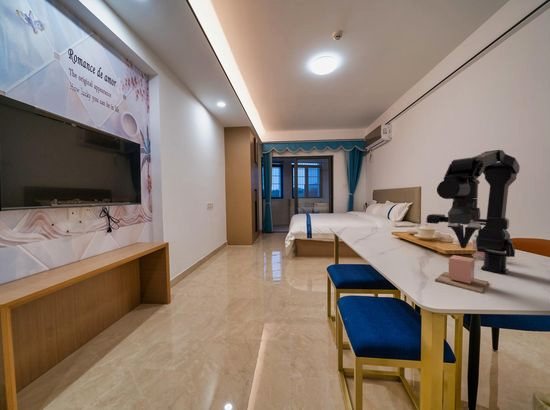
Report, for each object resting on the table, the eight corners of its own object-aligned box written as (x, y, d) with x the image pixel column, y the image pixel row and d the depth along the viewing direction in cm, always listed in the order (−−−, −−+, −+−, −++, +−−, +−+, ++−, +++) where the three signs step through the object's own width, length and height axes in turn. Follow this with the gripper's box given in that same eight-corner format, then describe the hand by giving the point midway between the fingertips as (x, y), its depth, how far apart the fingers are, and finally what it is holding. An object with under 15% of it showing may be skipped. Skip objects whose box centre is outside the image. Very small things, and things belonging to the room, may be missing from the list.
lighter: (492, 261, 88) (493, 237, 88) (482, 260, 89) (483, 237, 88) (478, 255, 96) (478, 233, 96) (469, 255, 97) (470, 233, 96)
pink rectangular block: (453, 274, 71) (453, 255, 71) (474, 279, 67) (474, 258, 67) (448, 278, 68) (449, 258, 68) (470, 283, 64) (470, 262, 64)
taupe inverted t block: (444, 273, 75) (445, 253, 75) (488, 283, 67) (489, 261, 66) (434, 281, 69) (435, 259, 68) (481, 293, 60) (482, 268, 60)
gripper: (421, 198, 69) (419, 246, 70) (505, 199, 54) (503, 259, 55) (432, 198, 76) (431, 241, 76) (510, 198, 61) (508, 252, 62)
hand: (463, 248), depth 67 cm, fingers closed
